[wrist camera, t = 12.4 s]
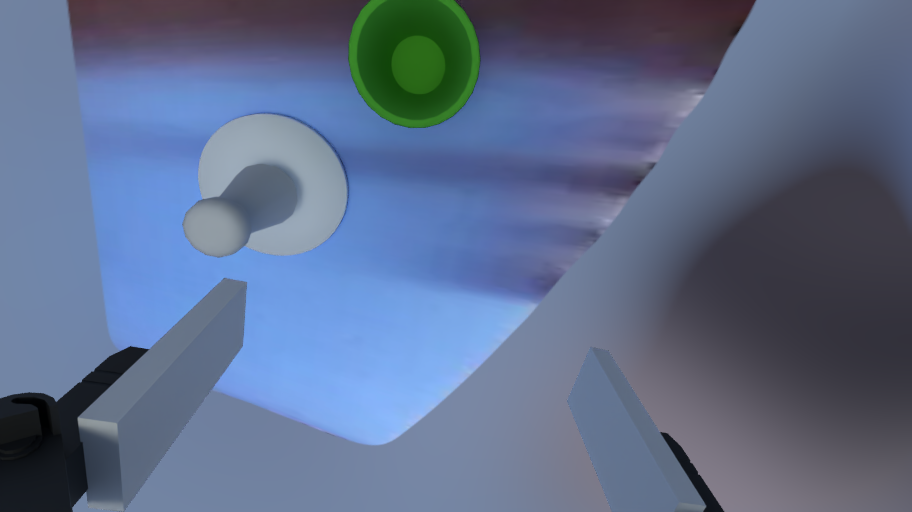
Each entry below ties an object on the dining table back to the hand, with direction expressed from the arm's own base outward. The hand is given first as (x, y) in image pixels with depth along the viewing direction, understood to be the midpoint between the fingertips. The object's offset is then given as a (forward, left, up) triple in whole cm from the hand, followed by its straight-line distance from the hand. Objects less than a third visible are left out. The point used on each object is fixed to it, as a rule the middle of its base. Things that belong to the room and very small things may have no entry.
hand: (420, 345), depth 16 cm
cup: (-5, -10, -30) cm, 31 cm away
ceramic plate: (+13, -7, -29) cm, 33 cm away
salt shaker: (+13, -7, -28) cm, 32 cm away
